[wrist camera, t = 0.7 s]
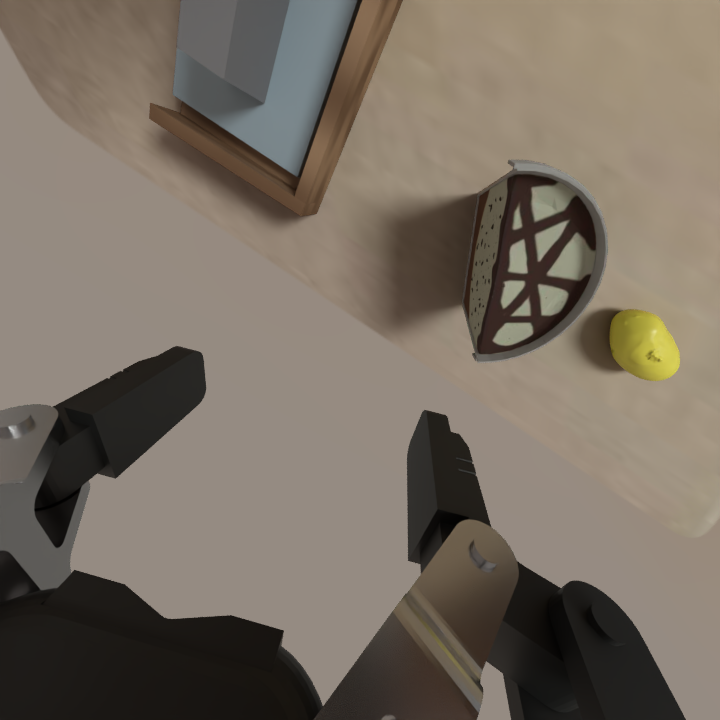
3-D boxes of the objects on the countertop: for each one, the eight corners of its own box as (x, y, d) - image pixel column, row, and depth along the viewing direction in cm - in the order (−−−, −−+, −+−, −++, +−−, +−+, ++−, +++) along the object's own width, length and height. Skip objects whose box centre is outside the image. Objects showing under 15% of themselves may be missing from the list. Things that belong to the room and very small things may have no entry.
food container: (524, 318, 27) (573, 374, 18) (459, 316, 28) (476, 369, 19) (568, 164, 20) (672, 142, 12) (480, 170, 21) (520, 155, 13)
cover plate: (209, -157, 15) (106, -328, 10) (372, -27, 17) (352, -123, 12) (182, 98, 22) (110, 69, 17) (301, 177, 23) (268, 173, 18)
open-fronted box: (227, -198, 15) (172, -310, 12) (419, -42, 17) (419, -101, 13) (187, 129, 24) (149, 118, 20) (316, 213, 25) (300, 216, 22)
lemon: (644, 292, 24) (681, 307, 20) (666, 359, 26) (701, 382, 23) (589, 316, 25) (614, 334, 22) (614, 377, 28) (640, 401, 25)
